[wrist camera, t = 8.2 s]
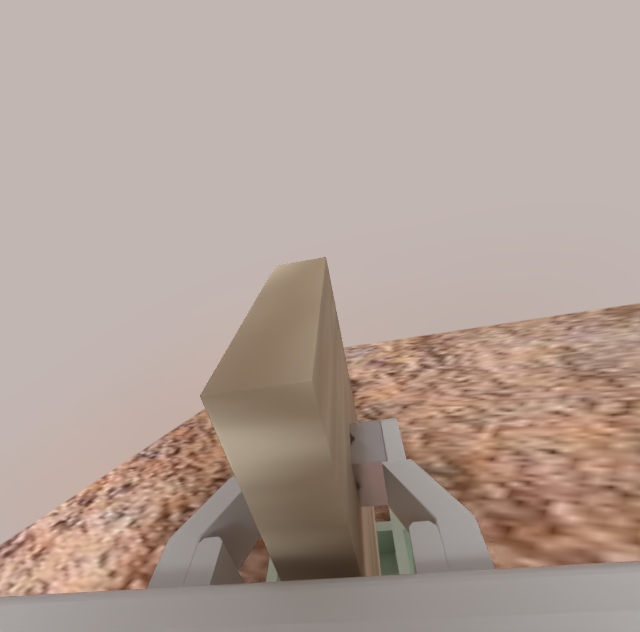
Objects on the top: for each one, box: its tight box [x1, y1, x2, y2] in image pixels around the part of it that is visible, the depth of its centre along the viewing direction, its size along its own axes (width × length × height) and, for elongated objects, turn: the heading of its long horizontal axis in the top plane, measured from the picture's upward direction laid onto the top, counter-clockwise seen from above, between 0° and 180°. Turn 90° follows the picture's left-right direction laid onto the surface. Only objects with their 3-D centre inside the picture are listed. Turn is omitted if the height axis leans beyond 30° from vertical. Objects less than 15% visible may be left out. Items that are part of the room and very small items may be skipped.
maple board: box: [200, 257, 381, 581], centre depth 11 cm, size 2×7×13 cm, turn 177°
